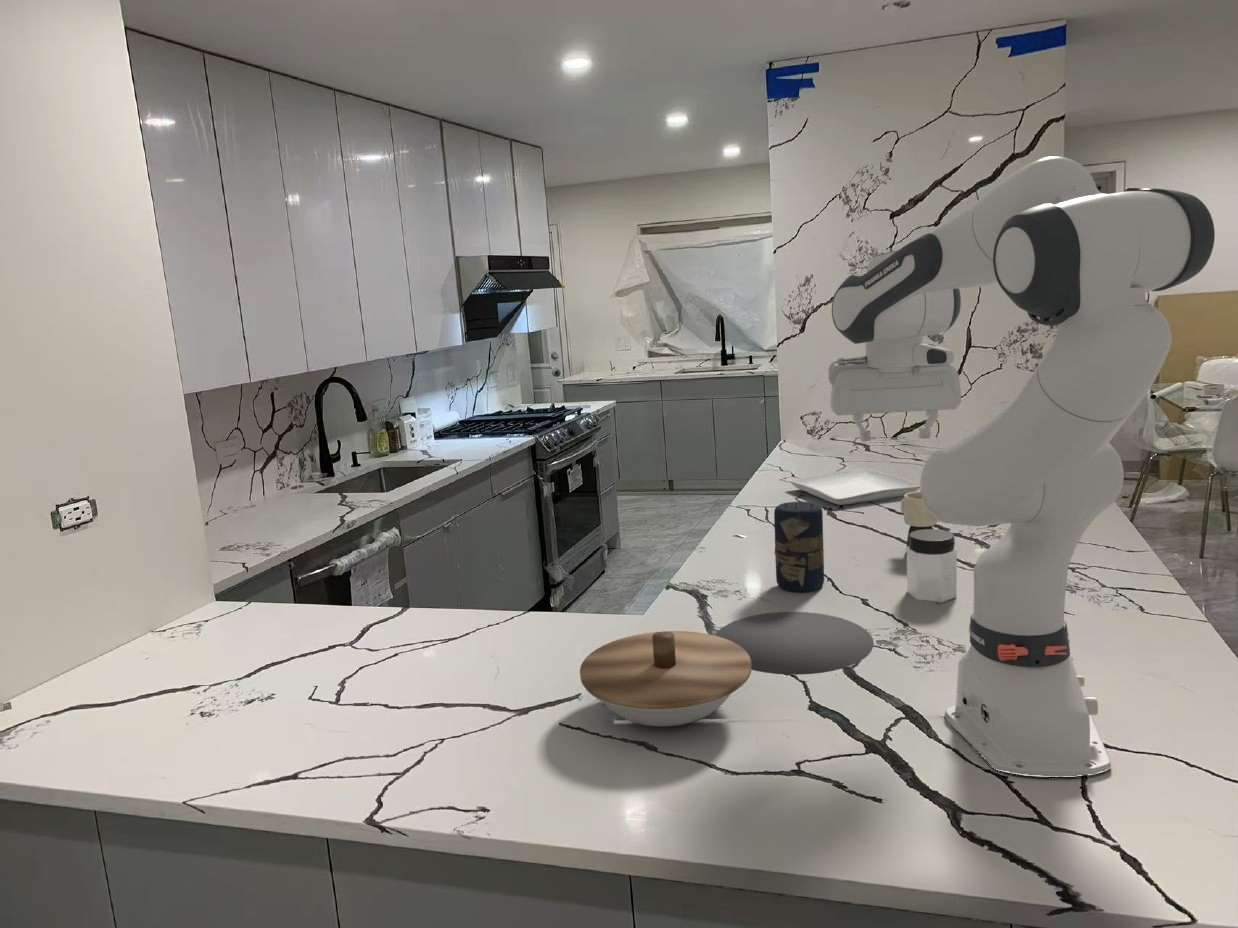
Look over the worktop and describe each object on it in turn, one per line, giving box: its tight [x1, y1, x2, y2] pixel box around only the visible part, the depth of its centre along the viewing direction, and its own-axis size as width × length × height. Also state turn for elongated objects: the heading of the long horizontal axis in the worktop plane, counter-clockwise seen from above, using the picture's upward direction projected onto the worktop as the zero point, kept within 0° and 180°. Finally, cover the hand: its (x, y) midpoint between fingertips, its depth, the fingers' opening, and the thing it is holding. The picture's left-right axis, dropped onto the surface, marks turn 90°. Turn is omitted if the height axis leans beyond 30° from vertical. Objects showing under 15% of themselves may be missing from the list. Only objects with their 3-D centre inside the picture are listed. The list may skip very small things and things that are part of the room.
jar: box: [906, 528, 958, 604], centre depth 168 cm, size 9×8×12 cm
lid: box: [579, 630, 752, 709], centre depth 129 cm, size 25×25×5 cm
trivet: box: [714, 611, 874, 675], centre depth 152 cm, size 27×27×1 cm
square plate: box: [788, 468, 920, 506], centre depth 252 cm, size 27×27×4 cm
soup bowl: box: [587, 691, 734, 727], centre depth 130 cm, size 24×24×7 cm
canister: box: [773, 500, 825, 593], centre depth 177 cm, size 10×10×18 cm
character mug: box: [900, 491, 940, 551], centre depth 194 cm, size 11×7×13 cm, turn 30°
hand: (894, 439), depth 145 cm, fingers open, 8 cm apart
